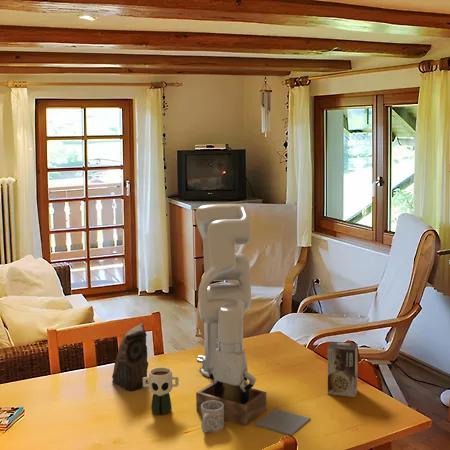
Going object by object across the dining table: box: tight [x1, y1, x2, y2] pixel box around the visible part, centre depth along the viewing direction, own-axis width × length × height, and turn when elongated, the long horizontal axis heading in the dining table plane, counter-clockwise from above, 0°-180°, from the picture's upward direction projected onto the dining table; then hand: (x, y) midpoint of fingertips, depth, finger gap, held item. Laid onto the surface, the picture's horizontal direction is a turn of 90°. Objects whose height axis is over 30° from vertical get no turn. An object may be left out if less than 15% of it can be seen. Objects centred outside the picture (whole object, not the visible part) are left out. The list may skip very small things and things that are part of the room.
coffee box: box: [327, 340, 359, 398], centre depth 208 cm, size 9×6×16 cm
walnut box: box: [195, 382, 268, 427], centre depth 197 cm, size 18×12×6 cm, turn 56°
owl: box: [111, 322, 149, 392], centre depth 216 cm, size 13×13×20 cm
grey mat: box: [254, 408, 311, 437], centre depth 189 cm, size 12×12×1 cm
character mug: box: [142, 366, 180, 415], centre depth 196 cm, size 11×7×13 cm, turn 91°
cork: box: [223, 383, 240, 403], centre depth 196 cm, size 6×6×11 cm
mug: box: [200, 401, 225, 433], centre depth 185 cm, size 10×7×7 cm, turn 157°
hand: (231, 399), depth 197 cm, fingers open, 9 cm apart
